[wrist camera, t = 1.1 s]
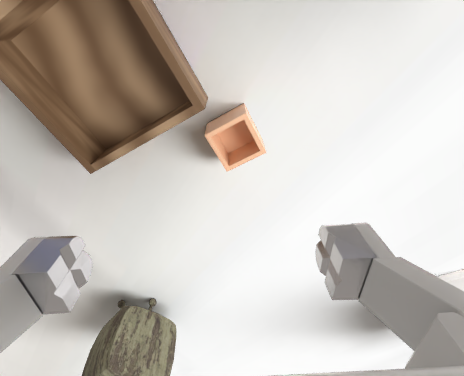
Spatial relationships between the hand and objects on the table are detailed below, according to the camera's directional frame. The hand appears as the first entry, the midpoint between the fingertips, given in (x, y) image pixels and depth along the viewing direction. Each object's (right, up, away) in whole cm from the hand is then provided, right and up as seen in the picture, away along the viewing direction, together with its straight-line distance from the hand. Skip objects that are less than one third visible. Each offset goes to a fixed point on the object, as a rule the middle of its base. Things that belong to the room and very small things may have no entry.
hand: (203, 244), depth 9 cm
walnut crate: (-14, +17, +24) cm, 33 cm away
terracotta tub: (+1, +10, +29) cm, 30 cm away
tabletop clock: (-18, -25, +50) cm, 59 cm away
